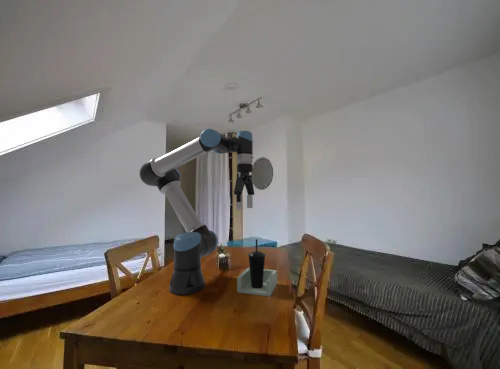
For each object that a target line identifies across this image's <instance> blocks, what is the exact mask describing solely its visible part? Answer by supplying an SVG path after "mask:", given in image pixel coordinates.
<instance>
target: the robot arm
mask: <svg viewBox="0 0 500 369" xmlns="http://www.w3.org/2000/svg"><path fill="white" fill-rule="evenodd" d="M253 147H254V140H253V133H252V132H251V131H250V130H239V131H237V132H236V136H228V137H227V136H225V135H224V134H221V133H220V132H218V131H217V130H215V129H212V128H206V129H204V130H202V132H201V133H200V135H199V137H197V138H195V139H193V140H191V141H190V142H188V143H187V142H186V144H183V145H182V146H179V147H177V148H176V149H174V150H172V151H171V152H170V151H169V152H168V153H166V154H164V155H162V156H160V157H158V158H156V157H155V158H154V157H153V158H151V159H149V160H148V161H146V162H145V163H144V164H142V166H141V168H140V169H139V177H140V180H141V181H142V182H143V183H144V184H145V185H146V186H150V187H157V189H158V191H159V192H160V194H162V195H165V197H166V199H167V201H168V202H169V203H170V205H171V207H172V209H173V211H174V213H175V214H176V217H177V218H178V220H179V222H180V223H181V225H182V227H183V229H184V230H185V232H183V233H179V234H178V235H176V236H175V237H174V239H173V245H172V246H173V272H172V276H171V279H170V281H169V288H168V289H169V290H168V291H169V292H170V293H172V294H174V295H190V294H196V293H199V292H200V291H202V290H204V289H205V287H206V280H205V278H204V274H203V272H202V258H204V257H206V256H209V255H211V254H213V252H215V251H216V250H217V248H218V245H219V238H218V235H217V234H216V232H214V231H213V230H210V229H209V228H208V226H207V225H206V224H205V223H204V224H203V223H202V222H201V220H200V218H199V216H198V215H197V214H196V211H195V209H194V208H193V207H192V204H191V203H190V201H189V199H188V197H187V196H186V194H185V193H184V191H183V189H182V188H181V184H182V182H181V173H180V172H179V169H177V168H178V167H181V166H182V165H184V164H186V163H188V162H191V161H193V160H195V159H197V158H199V157H201V156H203V155H204V154H206V153H209V152H212V151H214V152H215V154H222V155H223V154H229V153H236V163H237V165H236V172H237V173H236V180H235V185H234V190H233V195H234V196H235V195H236V196H235V198H236V199H235V201H236V202H235V203H236V205H235V206H236V210H239V211H240V210H243V208H244V207H243V201H244V200H243V199H244V198H243V190H244V187H245V189H246V193H247V195H246V209H253V207H254V206H253V205H254V203H253V200H254V199H253V196H255V188H254V183H253V176H252V174H250V173H253V171H254V170H253V168H254V167H253V166H254V165H253V160H254V156H253V155H254V154H253V152H254V150H253V149H254V148H253Z"/></svg>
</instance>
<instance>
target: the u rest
mask: <svg viewBox="0 0 500 369" xmlns="http://www.w3.org/2000/svg"><path fill="white" fill-rule="evenodd" d="M236 278H237V279H236V283H237V284H236V288H237V290H236V291H237V293H239V294H247V295H253V296H254V295H255V296H256V295H257V296H262V297H263V296H264V297H271V295H273V294H272V293H273V292H274V290H275V288H276V286H277V284H278V270H275V269H268V268H267V269H265V268H264V275H263V287H262V288H252V286H251V276H250V267H247V268H246V269H245V270H244V271H242V273H240V274H239V275H238V276H237V277H236Z"/></svg>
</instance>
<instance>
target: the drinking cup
mask: <svg viewBox="0 0 500 369" xmlns="http://www.w3.org/2000/svg"><path fill="white" fill-rule="evenodd" d="M247 256H248V264H249V268H250V276H251V286H252V288H262V287H263V275H264V269H265V261H266V260H265V259H266V253H265V252H263V251H259V250H258V239H255V251H251V252H249V253H248V254H247Z"/></svg>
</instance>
